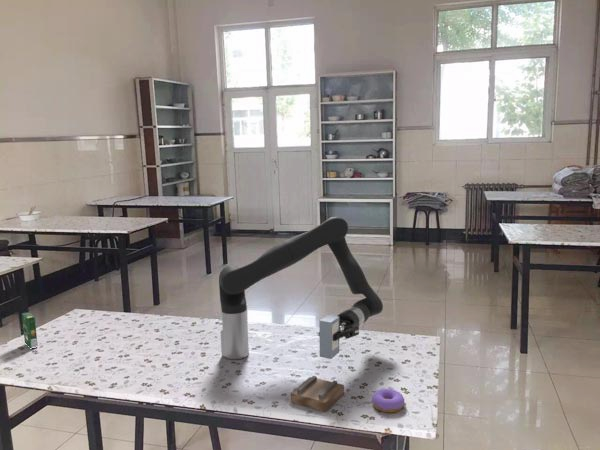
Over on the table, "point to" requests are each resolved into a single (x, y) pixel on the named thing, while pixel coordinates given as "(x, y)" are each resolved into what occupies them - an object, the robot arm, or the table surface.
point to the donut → (388, 400)
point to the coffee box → (29, 329)
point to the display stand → (317, 393)
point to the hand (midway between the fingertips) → (327, 336)
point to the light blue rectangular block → (328, 336)
